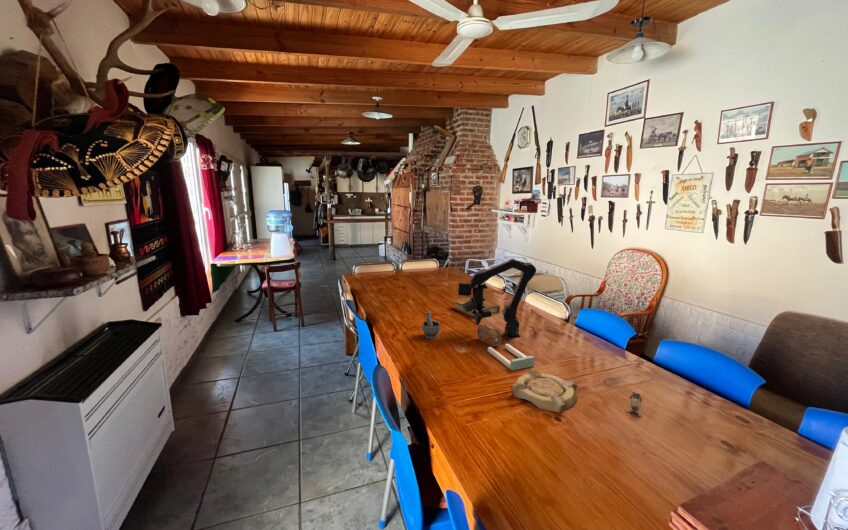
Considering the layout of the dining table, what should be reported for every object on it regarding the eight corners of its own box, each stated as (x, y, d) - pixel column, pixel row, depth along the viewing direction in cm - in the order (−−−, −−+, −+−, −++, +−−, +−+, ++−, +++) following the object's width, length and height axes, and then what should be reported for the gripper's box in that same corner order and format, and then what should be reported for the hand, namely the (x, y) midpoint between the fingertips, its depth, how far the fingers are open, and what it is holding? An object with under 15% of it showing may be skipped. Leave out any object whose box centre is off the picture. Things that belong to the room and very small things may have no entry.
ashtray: (546, 421, 112) (547, 407, 111) (498, 386, 132) (498, 374, 132) (594, 401, 123) (596, 389, 122) (543, 372, 143) (544, 360, 142)
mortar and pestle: (442, 339, 175) (443, 316, 173) (425, 341, 173) (425, 318, 171) (435, 331, 186) (435, 309, 184) (419, 333, 183) (418, 311, 181)
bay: (507, 347, 166) (508, 339, 165) (533, 365, 148) (534, 357, 147) (487, 351, 162) (488, 343, 161) (512, 370, 144) (512, 361, 143)
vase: (625, 403, 121) (629, 388, 120) (643, 410, 118) (647, 395, 116) (623, 410, 117) (626, 395, 115) (641, 418, 114) (645, 402, 112)
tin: (476, 338, 177) (477, 322, 175) (481, 337, 178) (482, 321, 177) (497, 349, 164) (498, 332, 162) (502, 347, 166) (503, 331, 164)
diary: (499, 313, 215) (500, 305, 214) (477, 319, 205) (477, 310, 204) (474, 304, 234) (475, 296, 233) (453, 309, 224) (453, 300, 223)
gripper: (456, 293, 184) (455, 320, 187) (472, 303, 167) (472, 333, 170) (474, 291, 188) (474, 318, 191) (492, 300, 171) (491, 330, 174)
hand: (477, 324), depth 181 cm, fingers closed
